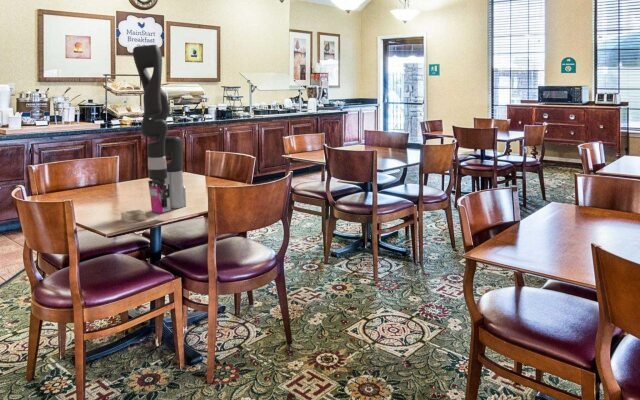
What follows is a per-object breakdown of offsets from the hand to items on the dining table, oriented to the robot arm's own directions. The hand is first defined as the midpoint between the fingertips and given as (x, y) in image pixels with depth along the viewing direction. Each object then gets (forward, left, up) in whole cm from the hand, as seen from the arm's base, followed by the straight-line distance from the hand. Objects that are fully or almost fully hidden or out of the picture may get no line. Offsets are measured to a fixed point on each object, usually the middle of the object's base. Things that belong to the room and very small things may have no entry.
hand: (160, 205), depth 231 cm
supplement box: (0, 0, -3) cm, 3 cm away
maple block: (+9, -8, -6) cm, 13 cm away
